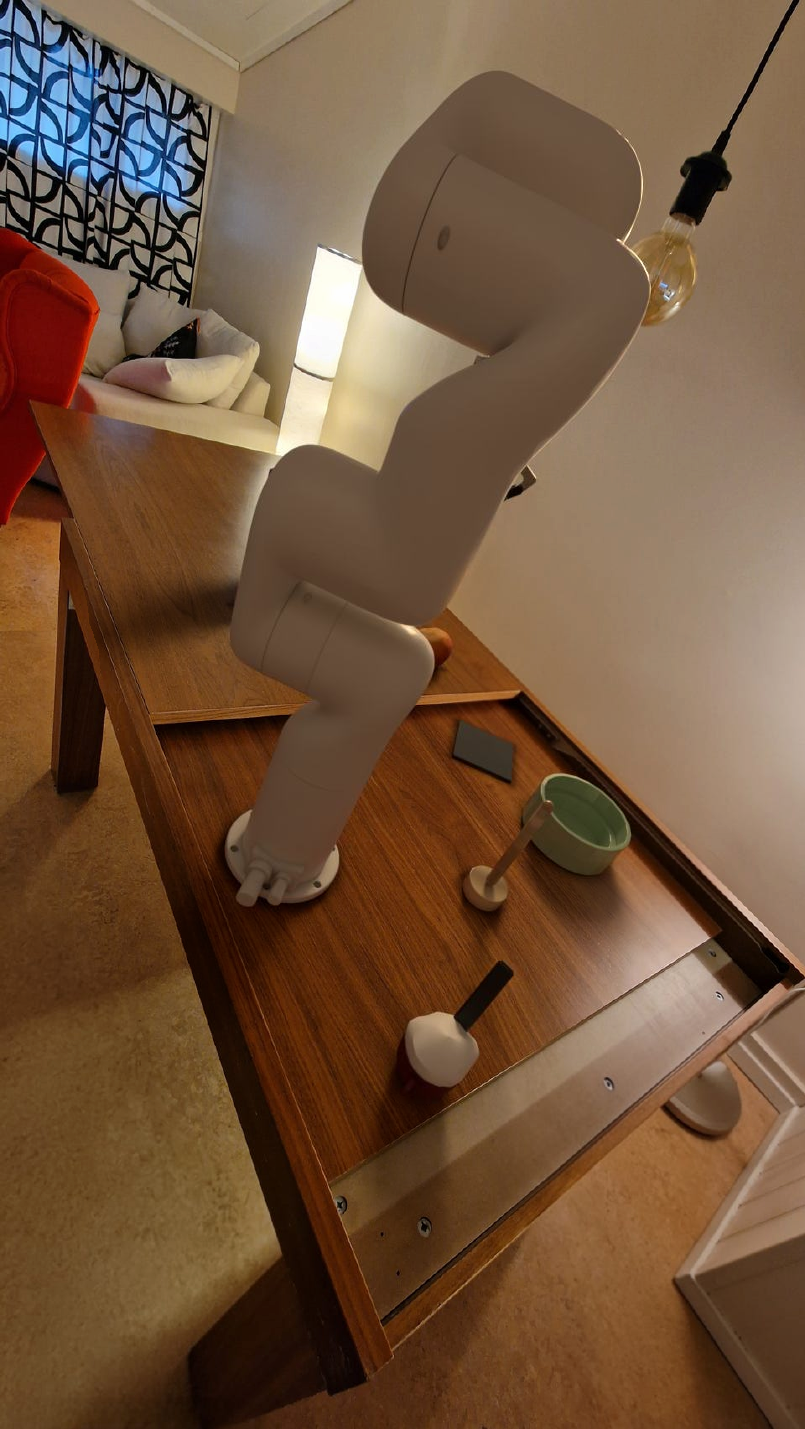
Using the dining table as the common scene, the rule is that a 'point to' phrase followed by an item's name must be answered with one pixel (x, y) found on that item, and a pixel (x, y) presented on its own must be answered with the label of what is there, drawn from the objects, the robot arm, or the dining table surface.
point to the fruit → (438, 644)
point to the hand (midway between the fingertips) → (452, 508)
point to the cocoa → (446, 1041)
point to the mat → (484, 751)
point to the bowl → (578, 825)
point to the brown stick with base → (501, 866)
